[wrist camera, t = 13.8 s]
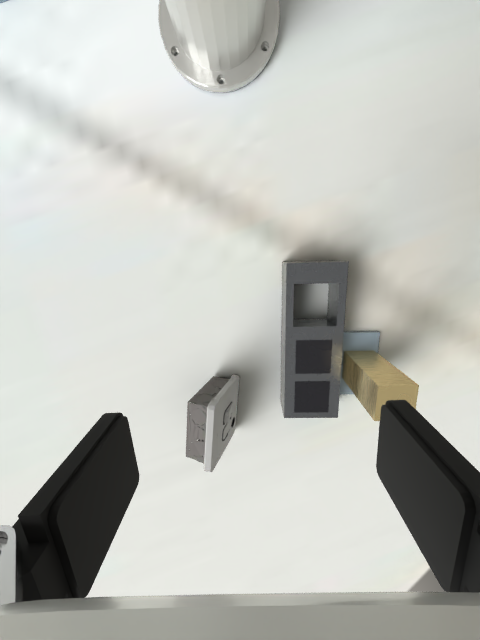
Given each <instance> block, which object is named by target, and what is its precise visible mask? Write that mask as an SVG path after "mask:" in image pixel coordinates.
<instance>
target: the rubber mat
mask: <svg viewBox="0 0 480 640" xmlns="http://www.w3.org/2000/svg"><path fill="white" fill-rule="evenodd" d="M379 337H380V332H378V331H364V332H344V335H343V350H342V364H341V378H340V393H339V394H354V393H353V392H352V390H351V389H350V388H349V387H348V385H347V384H346V383H345V381H344V380H343V379H342V371H343V357H344V351H371V350H374V351H375V352H376V353H378V347H379Z"/></svg>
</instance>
